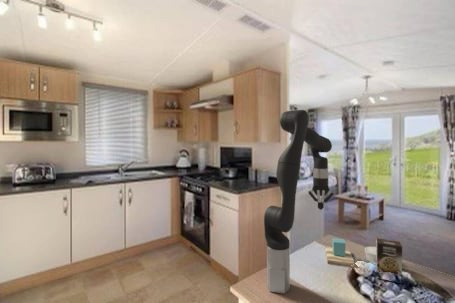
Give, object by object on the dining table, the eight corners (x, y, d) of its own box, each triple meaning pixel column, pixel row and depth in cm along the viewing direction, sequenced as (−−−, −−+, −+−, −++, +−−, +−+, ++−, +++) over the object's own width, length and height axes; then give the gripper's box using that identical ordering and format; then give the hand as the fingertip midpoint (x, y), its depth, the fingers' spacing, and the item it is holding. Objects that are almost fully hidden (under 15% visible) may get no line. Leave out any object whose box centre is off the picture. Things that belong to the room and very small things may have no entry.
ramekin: (359, 258, 122) (359, 248, 122) (373, 254, 126) (373, 244, 126) (382, 269, 112) (382, 258, 111) (396, 263, 116) (396, 253, 116)
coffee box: (376, 279, 103) (376, 242, 103) (375, 272, 109) (375, 237, 108) (402, 284, 99) (402, 246, 98) (399, 277, 105) (399, 240, 104)
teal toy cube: (345, 256, 119) (345, 243, 119) (333, 254, 121) (333, 242, 121) (343, 251, 124) (343, 239, 124) (332, 250, 126) (332, 238, 126)
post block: (354, 267, 113) (354, 249, 113) (327, 263, 117) (327, 246, 117) (349, 252, 128) (349, 237, 128) (325, 249, 132) (325, 234, 132)
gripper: (307, 177, 125) (307, 210, 125) (335, 178, 120) (335, 212, 121) (307, 175, 132) (307, 206, 132) (333, 176, 128) (333, 208, 128)
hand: (320, 209), depth 127 cm, fingers closed
